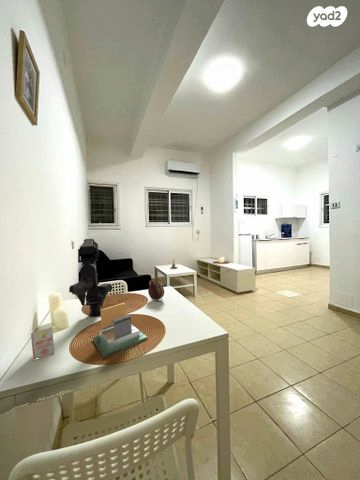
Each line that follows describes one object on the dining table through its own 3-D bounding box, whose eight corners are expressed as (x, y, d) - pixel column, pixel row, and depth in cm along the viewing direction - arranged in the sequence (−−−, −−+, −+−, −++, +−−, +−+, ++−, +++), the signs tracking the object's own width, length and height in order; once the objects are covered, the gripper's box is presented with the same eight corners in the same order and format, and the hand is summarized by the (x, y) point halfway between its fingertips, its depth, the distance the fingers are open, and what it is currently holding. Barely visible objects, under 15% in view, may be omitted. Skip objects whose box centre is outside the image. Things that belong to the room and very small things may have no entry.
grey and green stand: (92, 340, 86) (90, 316, 85) (131, 325, 97) (129, 304, 96) (104, 358, 73) (102, 329, 73) (147, 339, 84) (145, 314, 84)
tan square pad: (102, 329, 86) (100, 309, 85) (125, 321, 93) (124, 302, 92) (102, 330, 85) (101, 310, 84) (126, 322, 92) (125, 303, 91)
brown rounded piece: (165, 300, 129) (164, 277, 128) (160, 302, 125) (159, 279, 124) (152, 297, 135) (151, 276, 134) (147, 300, 131) (146, 278, 130)
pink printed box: (33, 356, 77) (31, 331, 76) (54, 349, 81) (51, 325, 80) (33, 360, 74) (30, 335, 73) (54, 353, 78) (52, 328, 77)
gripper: (57, 277, 83) (61, 313, 85) (97, 278, 80) (99, 315, 81) (76, 271, 94) (79, 302, 96) (111, 271, 91) (114, 304, 92)
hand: (92, 306), depth 91 cm, fingers open, 9 cm apart
